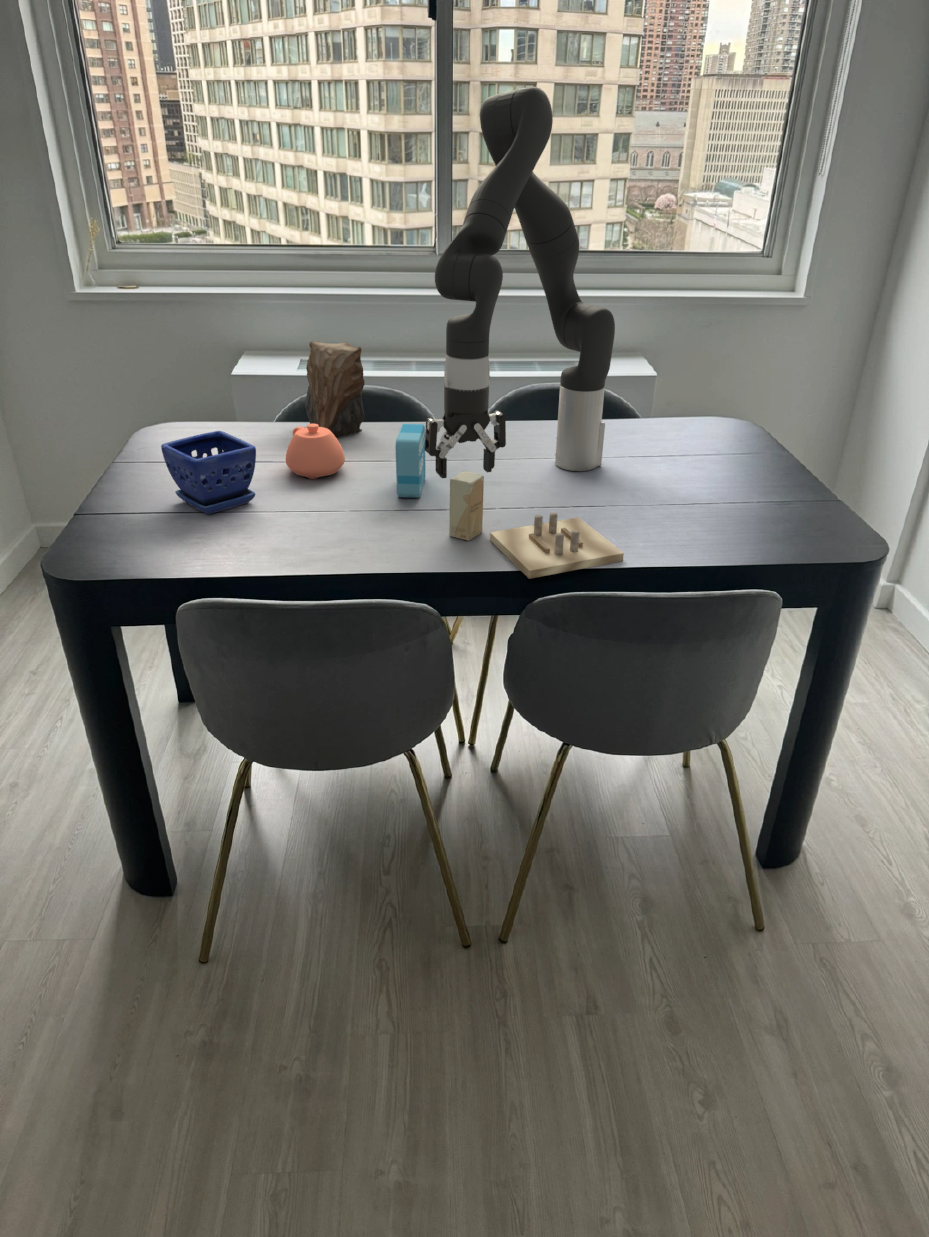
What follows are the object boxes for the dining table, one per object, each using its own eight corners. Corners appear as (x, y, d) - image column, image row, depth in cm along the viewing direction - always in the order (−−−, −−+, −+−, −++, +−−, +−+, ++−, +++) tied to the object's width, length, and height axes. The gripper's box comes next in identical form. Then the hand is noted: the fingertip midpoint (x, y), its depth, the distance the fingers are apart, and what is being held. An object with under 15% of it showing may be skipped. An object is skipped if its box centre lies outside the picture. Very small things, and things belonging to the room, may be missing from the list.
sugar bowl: (307, 487, 179) (303, 438, 173) (271, 468, 188) (266, 421, 182) (356, 473, 186) (354, 426, 180) (320, 455, 195) (316, 410, 189)
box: (468, 541, 157) (469, 483, 152) (448, 536, 159) (448, 478, 154) (483, 531, 161) (484, 474, 155) (463, 526, 163) (464, 469, 157)
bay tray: (577, 524, 164) (579, 499, 161) (622, 560, 151) (625, 534, 149) (489, 539, 158) (490, 514, 155) (529, 578, 145) (530, 551, 143)
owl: (305, 425, 212) (298, 341, 202) (355, 419, 217) (350, 336, 206) (319, 441, 202) (313, 353, 192) (371, 434, 207) (367, 348, 197)
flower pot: (227, 484, 179) (220, 428, 173) (264, 503, 171) (257, 444, 165) (168, 502, 171) (158, 443, 165) (203, 522, 163) (194, 461, 157)
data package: (419, 500, 173) (418, 442, 167) (396, 499, 173) (395, 441, 167) (425, 478, 184) (424, 422, 177) (404, 477, 184) (402, 421, 178)
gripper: (496, 372, 151) (493, 462, 160) (418, 379, 147) (419, 471, 155) (515, 384, 145) (510, 476, 154) (434, 391, 141) (434, 486, 149)
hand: (465, 473), depth 154 cm, fingers open, 8 cm apart
